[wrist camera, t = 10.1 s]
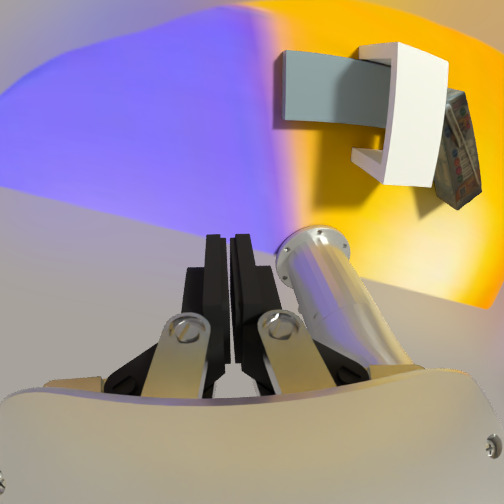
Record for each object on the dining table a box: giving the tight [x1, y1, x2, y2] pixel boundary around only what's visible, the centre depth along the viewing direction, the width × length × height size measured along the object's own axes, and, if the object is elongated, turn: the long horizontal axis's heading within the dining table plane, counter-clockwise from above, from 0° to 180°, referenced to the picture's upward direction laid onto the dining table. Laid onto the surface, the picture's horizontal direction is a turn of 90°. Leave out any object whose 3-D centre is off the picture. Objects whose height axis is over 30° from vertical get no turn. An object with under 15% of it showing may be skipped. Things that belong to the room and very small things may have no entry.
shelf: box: [351, 42, 448, 187], centre depth 29 cm, size 17×8×9 cm, turn 0°
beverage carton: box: [433, 88, 482, 210], centre depth 34 cm, size 8×19×7 cm, turn 32°
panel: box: [282, 50, 391, 128], centre depth 30 cm, size 9×16×2 cm, turn 90°
